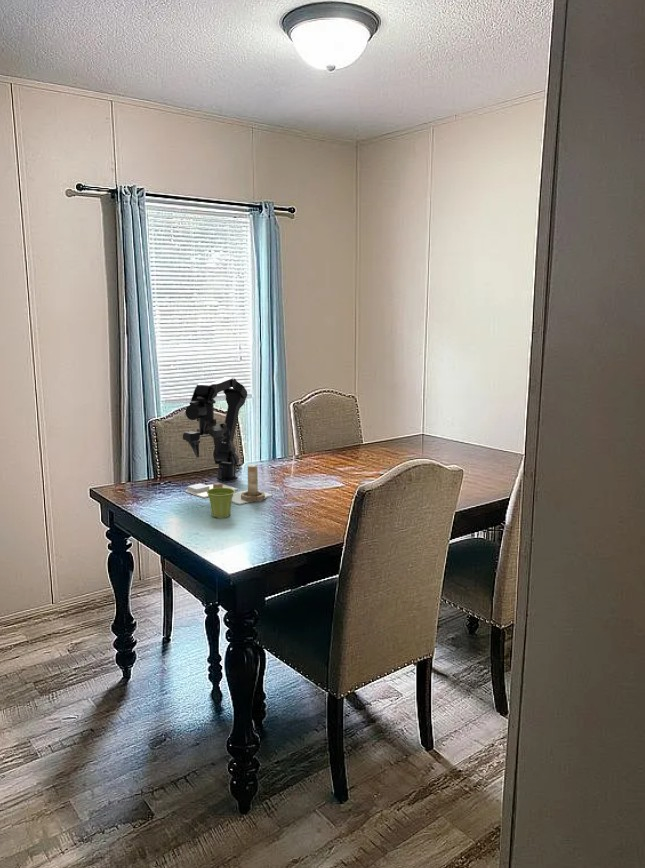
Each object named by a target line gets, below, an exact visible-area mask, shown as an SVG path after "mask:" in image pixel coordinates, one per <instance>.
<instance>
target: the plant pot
mask: <svg viewBox="0 0 645 868" xmlns="http://www.w3.org/2000/svg"><path fill="white" fill-rule="evenodd" d="M234 493H236V492H235V491H234V490H233V489H230V488H213V489H209V490H208V491H207V494H208V497H207V498H209V504H210V511H211V516H212V517H213V518H218V519H221V518H222V519H223V518H227V517H229V516H231V510H232V497H233V494H234Z"/></svg>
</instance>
